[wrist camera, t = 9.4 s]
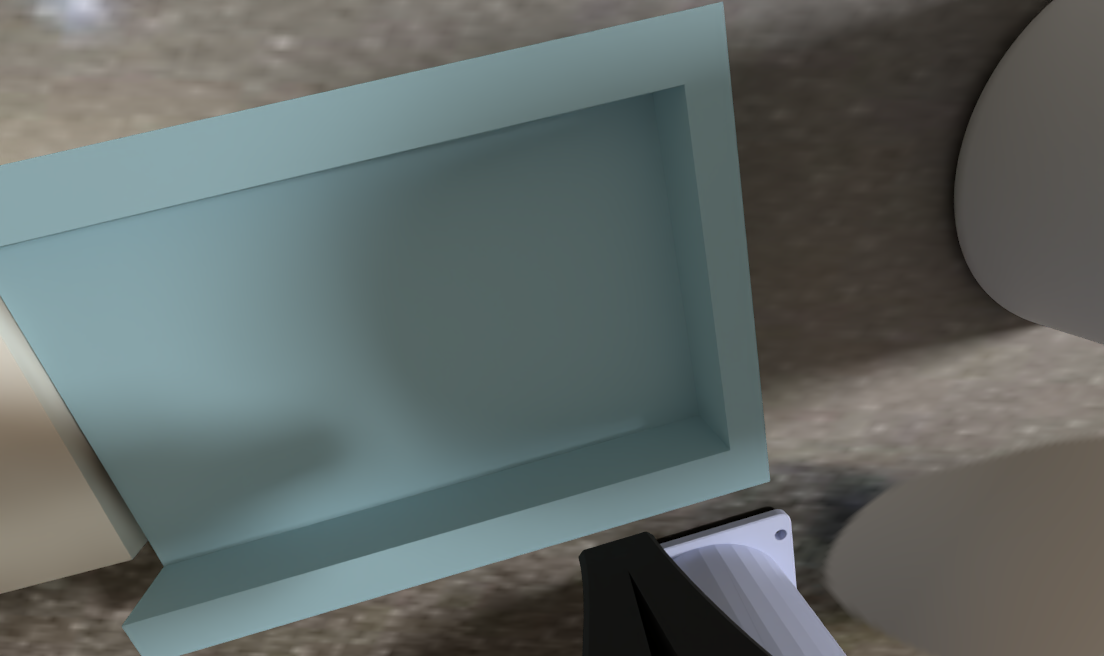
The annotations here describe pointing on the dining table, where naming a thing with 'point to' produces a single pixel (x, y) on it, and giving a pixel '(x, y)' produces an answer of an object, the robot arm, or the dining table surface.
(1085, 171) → the cylinder vase
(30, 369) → the cover plate
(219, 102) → the dining table surface
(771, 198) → the dining table surface
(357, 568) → the teal box
